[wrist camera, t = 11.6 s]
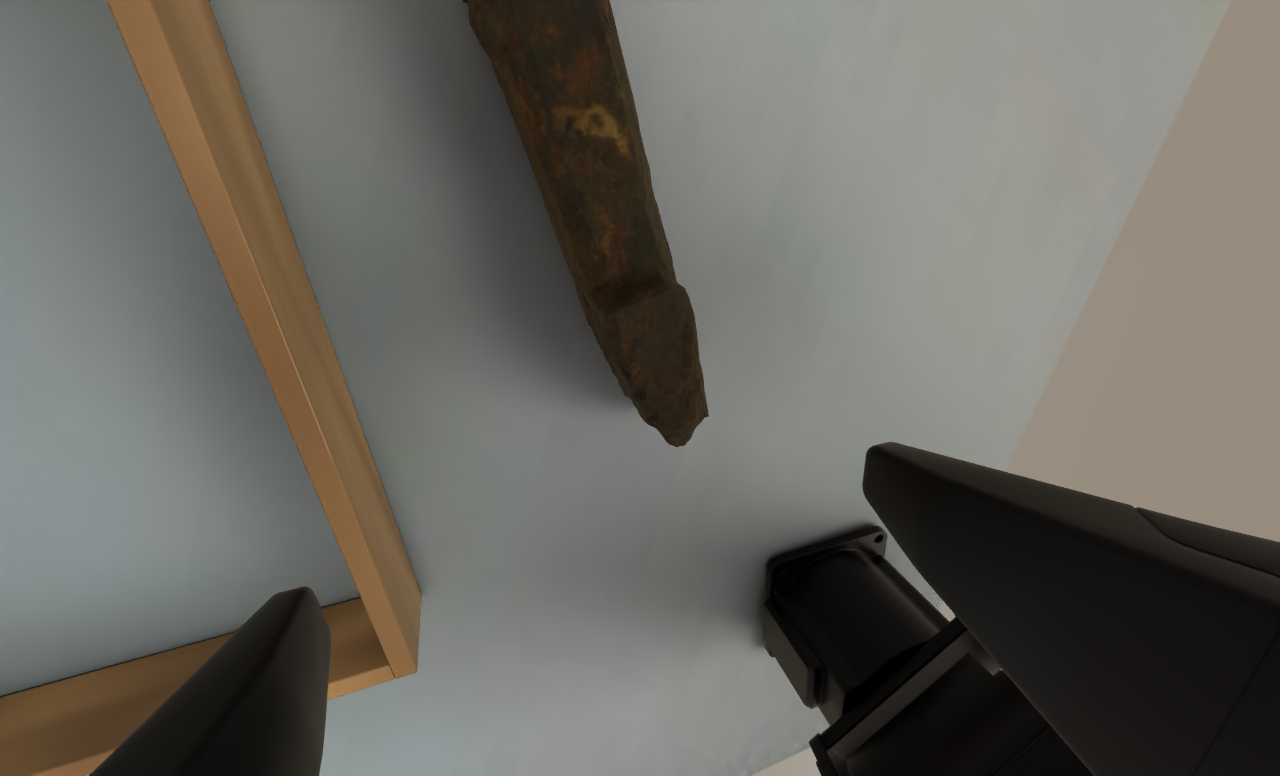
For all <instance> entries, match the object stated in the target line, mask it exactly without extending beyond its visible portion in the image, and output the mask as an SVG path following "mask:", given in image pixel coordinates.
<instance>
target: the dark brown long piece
mask: <svg viewBox="0 0 1280 776" xmlns="http://www.w3.org/2000/svg"><path fill="white" fill-rule="evenodd" d="M463 2H464V3H467V4H468V7H469V23H470V25H471V27H472V29H473V31H474V33H475V35H476V37H477V39H478V40H479V42H480V44H481V46H482V47H483V49H484V50H485V52H486V53H487V55H488V56H489V58H490V59H491V62H492V65H493V69H494V71H495V74H496V76H497V79H498V81H499V83H500V86H501V88H502V90H503V92H504V94H505V97H506V101H507V104H508V106H509V109H510V111H511V114H512V116H513V119H514V122H515V124H516V127H517V130H518V132H519V135H520V138H521V140H522V143H523V146H524V148H525V151H526V153H527V156H528V159H529V161H530V164H531V166H532V169H533V171H534V174H535V177H536V179H537V182H538V184H539V187H540V190H541V192H542V196H543V199H544V202H545V206H546V208H547V211H548V214H549V216H550V219H551V222H552V224H553V227H554V230H555V232H556V235H557V238H558V240H559V243H560V245H561V248H562V251H563V253H564V256H565V259H566V261H567V264H568V267H569V269H570V272H571V274H572V277H573V279H574V281H575V285H576V289H577V293H578V296H579V299H580V302H581V305H582V307H583V310H584V313H585V315H586V318H587V321H588V323H589V325H590V326H591V327H592V330H593V332H594V334H595V336H596V339H597V341H598V343H599V346H600V348H601V350H602V352H603V354H604V356H605V358H606V360H607V361H608V363H609V365H610V367H611V369H612V371H613V373H614V375H615V376H616V377H617V379H618V382H619V385H620V387H621V389H622V391H623V393H624V395H625V396H627V397H629V398H630V399H631V400H632V402H633V404H634V406H635V407H636V408H637V410H638V412H639V415H640V416H641V418H642V419H643V420H644V422H646V423H647V424H648V425H650V426H652V427H654V428H656V429H657V430H658V431H659V432H660V433H661V435H662V436H663V438H664V439H665V440H666V442H667V443H668V444H670V445H673V446H676V447H679V446H684V445H685V444H686V443H687V442H688V441H689V439H690V438H691V437H692V434H693V432H694V430H695V428H696V427H697V426H698V425H699V424H700V423H701V422H702V420H703V419H704V417H708V416H709V415H708V409H707V403H706V397H705V391H704V381H703V373H702V368H701V365H700V361H699V352H698V340H697V331H696V324H695V317H694V313H693V309H692V306H691V303H690V300H689V296H688V294H687V292H686V290H685V288H684V287H682V286H681V285H679V284H678V283H677V281H676V277H675V273H674V268H673V261H672V256H671V253H670V249H669V246H668V242H667V239H666V236H665V232H664V229H663V225H662V222H661V218H660V214H659V210H658V206H657V203H656V200H655V198H654V193H653V189H652V183H651V175H650V168H649V164H648V161H647V158H646V155H645V151H644V147H643V142H642V138H641V134H640V129H639V123H638V117H637V112H636V108H635V104H634V99H633V95H632V91H631V87H630V83H629V79H628V75H627V71H626V67H625V63H624V59H623V55H622V51H621V47H620V43H619V38H618V34H617V30H616V26H615V21H614V17H613V13H612V9H611V5H610V2H609V0H463Z"/></svg>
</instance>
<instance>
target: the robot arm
mask: <svg viewBox="0 0 1280 776" xmlns="http://www.w3.org/2000/svg"><path fill="white" fill-rule="evenodd" d="M862 487H863V492H864V495H865V497H866V499H867V501H868V502H869V504H870V505H871V506H872V508H873V509H874V511H875V512H876V513H877V515H878V516H879V518H880V519H881V520H882V522H883V523H884V525H885V526H886V528H887V529H888V530H889V532H890V533H891V535H892V536H893V537H894V539H895V540H896V542H897V543H898V544H899V546H900V547H901V549H902V550H903V552H904V553H905V554H906V556H907V557H908V559H909V560H910V561H911V563H912V564H913V565H914V567H915V568H916V569H917V570H918V572H919V573H920V574H921V575H922V576H923V578H924V579H925V580H926V581H927V582H928V584H929V585H930V586H931V587H932V588H933V589H934V591H935V592H936V593H937V594H938V595H939V596H940V598H941V599H942V600H943V601H944V602H945V603H946V605H947V606H948V607H949V608H950V609H951V610H952V611H953V613H954V614H955V616H956V617H955V618H954V619H953V620H952V621H950V622H949V621H948V620H947V619H946V618H945V617H944V616H943V615H942V614H941V613H940V612H939V611H938V610H937V609H936V608H935V607H934V606H933V605H932V604H931V603H930V602H929V601H928V600H927V599H926V598H925V597H924V596H923V595H922V594H921V593H920V592H918V591H917V590H916V589H915V588H914V587H913V586H912V585H911V584H910V583H909V582H908V581H907V580H906V579H905V578H904V577H903V576H902V575H901V574H900V573H899V572H898V571H897V570H896V569H895V568H894V567H893V566H892V565H891V564H890V563H889V562H888V561H887V560H886V559H885V558H884V554H885V547H886V540H887V533H886V532H885V531H884V530H883V529H882V528H881V527H879V526H874V527H870V528H867V529H864V530H861V531H858V532H854V533H851V534H848V535H845V536H842V537H838V538H835V539H832V540H829V541H826V542H822V543H819V544H816V545H813V546H810V547H806V548H803V549H800V550H797V551H794V552H790V553H787V554H784V555H781V556H778V557H775V558H773V559H772V560H770V561H769V563H768V564H767V570H766V599H765V602H764V605H763V639H764V640H765V648H766V650H767V652H768V653H769V655H770V656H771V657H775V658H776V660H777V661H778V663H779V664H780V666H781V668H782V669H783V671H784V672H785V674H786V676H787V677H788V679H789V680H790V682H791V684H792V685H793V687H794V689H795V690H796V692H797V693H798V695H799V697H800V698H801V700H802V701H803V703H804V705H806V706H807V707H809V708H811V709H813V708H815V707H819V709H820V710H821V712H822V714H823V715H824V717H825V718H826V720H827V721H828V723H829V724H830V727H829V728H828V729H826V730H825V731H824V732H823V733H822V734H819V733H818V734H817V735H816V736H815V737H813V738H812V739H811V740H810V741H809V744H810V746H811V748H812V750H813V753H814V755H815V757H816V759H817V762H816V764H817V767H818V769H819V771H820V773H821V776H1280V542H1276V541H1272V540H1268V539H1264V538H1259V537H1255V536H1251V535H1246V534H1242V533H1238V532H1234V531H1229V530H1225V529H1221V528H1216V527H1213V526H1209V525H1205V524H1201V523H1197V522H1193V521H1189V520H1185V519H1181V518H1177V517H1173V516H1169V515H1166V514H1162V513H1158V512H1154V511H1150V510H1147V509H1143V508H1139V507H1138V508H1134V507H1133V506H1131V505H1128V504H1124V503H1120V502H1116V501H1113V500H1109V499H1105V498H1101V497H1098V496H1093V495H1090V494H1086V493H1082V492H1079V491H1075V490H1071V489H1068V488H1064V487H1060V486H1056V485H1052V484H1049V483H1045V482H1041V481H1037V480H1033V479H1030V478H1026V477H1022V476H1018V475H1015V474H1011V473H1007V472H1004V471H1000V470H996V469H992V468H989V467H985V466H981V465H977V464H974V463H970V462H966V461H962V460H958V459H955V458H951V457H947V456H943V455H940V454H936V453H932V452H928V451H925V450H921V449H917V448H913V447H910V446H906V445H902V444H898V443H894V442H887V443H883V444H879V445H875V446H872V447H870V448H869V449H868V451H867V453H866V460H865V468H864V476H863V484H862ZM330 656H331V633H330V629H329V626H328V624H327V622H326V619H325V617H324V615H323V612H322V610H321V608H320V605H319V603H318V601H317V598H316V596H315V594H314V592H313V591H312V590H311V589H310V588H308V587H300V588H296V589H292V590H288V591H284V592H280V593H277V594H275V595H274V596H272V597H271V598H270V599H269V600H268V601H267V602H266V603H265V604H264V605H263V606H262V607H261V608H260V609H259V610H258V611H257V612H256V613H255V614H254V615H253V616H252V617H251V618H250V619H249V620H248V621H247V622H245V623H244V624H243V625H242V626H241V627H240V628H239V629H238V630H237V631H236V632H235V633H234V634H233V635H232V636H231V637H230V638H229V639H228V640H227V641H226V642H225V643H224V644H223V645H222V646H221V647H220V648H219V649H218V650H217V651H216V652H215V653H214V654H213V655H212V656H211V657H210V658H209V659H208V660H207V661H206V662H205V663H204V664H203V665H202V666H200V667H199V668H198V669H197V670H196V671H195V672H194V673H193V674H192V675H191V676H190V677H189V678H188V679H187V680H186V681H185V682H184V683H183V684H182V685H181V686H180V687H179V688H178V689H177V690H176V691H175V692H174V693H173V694H172V695H171V696H170V697H169V698H168V699H167V700H166V701H165V702H164V703H163V704H162V705H161V706H160V707H159V708H158V709H157V710H155V711H154V712H153V713H152V714H151V715H150V716H149V717H148V718H147V719H146V720H145V721H144V722H143V723H142V724H141V725H140V726H139V727H138V728H137V729H136V730H135V731H134V732H133V733H132V734H131V735H130V736H129V737H128V738H127V739H126V740H125V741H124V742H123V743H122V744H121V745H120V746H119V747H118V748H117V749H116V750H115V751H114V752H113V753H112V754H111V755H109V756H108V757H107V758H106V759H105V760H104V761H103V762H102V763H101V764H100V765H99V766H98V767H97V768H96V769H95V770H94V771H93V772H92V773H91V774H90V775H89V776H319V772H320V766H321V760H322V753H323V744H324V733H325V720H326V707H327V695H328V682H329V669H330ZM1001 668H1002V670H1000V669H1001ZM994 674H995V675H994Z"/></svg>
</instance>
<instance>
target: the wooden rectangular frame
mask: <svg viewBox="0 0 1280 776" xmlns="http://www.w3.org/2000/svg"><path fill="white" fill-rule="evenodd" d="M107 3H108V5H109V8H110V10H111V12H112V15H113V17H114V19H115V22H116V24H117V26H118V29H119V31H120V33H121V36H122V38H123V40H124V43H125V45H126V47H127V50H128V52H129V54H130V57H131V59H132V61H133V64H134V66H135V69H136V71H137V73H138V76H139V78H140V80H141V83H142V85H143V87H144V90H145V92H146V94H147V97H148V99H149V101H150V104H151V106H152V108H153V111H154V113H155V115H156V118H157V120H158V123H159V125H160V127H161V130H162V132H163V134H164V137H165V139H166V141H167V144H168V146H169V148H170V151H171V153H172V155H173V158H174V160H175V162H176V165H177V167H178V169H179V172H180V174H181V176H182V179H183V181H184V184H185V186H186V188H187V191H188V193H189V195H190V198H191V200H192V202H193V205H194V207H195V209H196V212H197V214H198V216H199V219H200V221H201V223H202V226H203V228H204V230H205V233H206V235H207V237H208V240H209V242H210V245H211V247H212V249H213V252H214V254H215V256H216V259H217V261H218V263H219V266H220V268H221V270H222V273H223V275H224V277H225V280H226V282H227V284H228V287H229V289H230V291H231V294H232V296H233V299H234V301H235V303H236V306H237V308H238V310H239V313H240V315H241V317H242V320H243V322H244V324H245V327H246V329H247V331H248V334H249V336H250V338H251V341H252V343H253V345H254V348H255V350H256V352H257V355H258V357H259V360H260V362H261V364H262V367H263V369H264V371H265V374H266V376H267V378H268V381H269V383H270V385H271V388H272V390H273V392H274V395H275V397H276V399H277V402H278V404H279V406H280V409H281V411H282V413H283V416H284V418H285V421H286V423H287V425H288V428H289V430H290V432H291V435H292V437H293V439H294V442H295V444H296V446H297V449H298V451H299V453H300V456H301V458H302V460H303V463H304V465H305V467H306V470H307V472H308V475H309V477H310V479H311V482H312V484H313V486H314V489H315V491H316V493H317V496H318V498H319V500H320V503H321V505H322V507H323V510H324V512H325V514H326V517H327V519H328V521H329V524H330V526H331V528H332V531H333V533H334V536H335V538H336V540H337V543H338V545H339V547H340V550H341V552H342V554H343V557H344V559H345V561H346V564H347V566H348V568H349V571H350V573H351V575H352V578H353V580H354V582H355V585H356V587H357V590H358V592H359V594H360V597H361V598H357V599H354V600H350V601H347V602H343V603H339V604H336V605H332V606H329V607H325V608H321V610H322V612H323V615H324V617H325V619H326V622H327V624H328V626H329V629H330V633H331V656H330V669H329V682H328V695H327V700H329V699H332V698H336V697H339V696H342V695H345V694H348V693H351V692H355V691H358V690H361V689H364V688H367V687H371V686H374V685H377V684H380V683H383V682H387V681H390V680H393V679H394V678H396V679H397V678H400V677H403V676H406V675H410V674H413V673H416V672H417V664H418V647H419V630H420V613H421V596H422V594H421V591H420V589H419V586H418V583H417V580H416V577H415V575H414V572H413V569H412V566H411V564H410V561H409V558H408V555H407V552H406V550H405V547H404V544H403V541H402V538H401V536H400V533H399V530H398V527H397V524H396V522H395V519H394V516H393V513H392V511H391V508H390V505H389V502H388V499H387V497H386V494H385V491H384V488H383V485H382V483H381V480H380V477H379V474H378V471H377V469H376V466H375V463H374V460H373V458H372V455H371V452H370V449H369V446H368V444H367V441H366V438H365V435H364V432H363V430H362V427H361V424H360V421H359V418H358V416H357V413H356V410H355V407H354V405H353V402H352V399H351V396H350V393H349V391H348V388H347V385H346V382H345V379H344V377H343V374H342V371H341V368H340V365H339V363H338V360H337V357H336V354H335V352H334V349H333V346H332V343H331V340H330V338H329V335H328V332H327V329H326V326H325V324H324V321H323V318H322V315H321V312H320V310H319V307H318V304H317V301H316V299H315V296H314V293H313V290H312V287H311V285H310V282H309V279H308V276H307V273H306V271H305V268H304V265H303V262H302V259H301V257H300V254H299V251H298V248H297V246H296V243H295V240H294V237H293V234H292V232H291V229H290V226H289V223H288V220H287V218H286V215H285V212H284V209H283V206H282V204H281V201H280V198H279V195H278V193H277V190H276V187H275V184H274V181H273V179H272V176H271V173H270V170H269V167H268V165H267V162H266V159H265V156H264V153H263V151H262V148H261V145H260V142H259V140H258V137H257V134H256V131H255V128H254V126H253V123H252V120H251V117H250V114H249V112H248V109H247V106H246V103H245V100H244V98H243V95H242V92H241V89H240V87H239V84H238V81H237V78H236V75H235V73H234V70H233V67H232V64H231V61H230V59H229V56H228V53H227V50H226V47H225V45H224V42H223V39H222V36H221V34H220V31H219V28H218V25H217V22H216V20H215V17H214V14H213V11H212V8H211V6H210V3H209V0H107ZM233 634H234V633H231V634H228V635H224V636H220V637H217V638H213V639H209V640H206V641H202V642H199V643H195V644H191V645H188V646H184V647H181V648H177V649H173V650H170V651H166V652H163V653H159V654H155V655H152V656H148V657H145V658H141V659H137V660H134V661H130V662H127V663H123V664H119V665H116V666H112V667H109V668H105V669H101V670H98V671H94V672H90V673H87V674H83V675H80V676H76V677H72V678H69V679H65V680H62V681H58V682H54V683H51V684H47V685H44V686H40V687H36V688H33V689H29V690H26V691H22V692H18V693H15V694H11V695H8V696H4V697H0V776H87V775H90V774H91V773H92V772H93V771H94V770H95V769H96V768H97V767H98V766H99V765H100V764H101V763H102V762H103V761H104V760H105V759H106V758H107V757H108V756H109V755H111V754H112V753H113V752H114V751H115V750H116V749H117V748H118V747H119V746H120V745H121V744H122V743H123V742H124V741H125V740H126V739H127V738H128V737H129V736H130V735H131V734H132V733H133V732H134V731H135V730H136V729H137V728H138V727H139V726H140V725H141V724H142V723H143V722H144V721H145V720H146V719H147V718H148V717H149V716H150V715H151V714H152V713H153V712H154V711H155V710H157V709H158V708H159V707H160V706H161V705H162V704H163V703H164V702H165V701H166V700H167V699H168V698H169V697H170V696H171V695H172V694H173V693H174V692H175V691H176V690H177V689H178V688H179V687H180V686H181V685H182V684H183V683H184V682H185V681H186V680H187V679H188V678H189V677H190V676H191V675H192V674H193V673H194V672H195V671H196V670H197V669H198V668H199V667H200V666H202V665H203V664H204V663H205V662H206V661H207V660H208V659H209V658H210V657H211V656H212V655H213V654H214V653H215V652H216V651H217V650H218V649H219V648H220V647H221V646H222V645H223V644H224V643H225V642H226V641H227V640H228V639H229V638H230V637H231V636H232V635H233Z"/></svg>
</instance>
